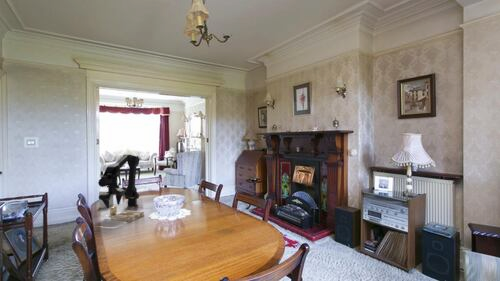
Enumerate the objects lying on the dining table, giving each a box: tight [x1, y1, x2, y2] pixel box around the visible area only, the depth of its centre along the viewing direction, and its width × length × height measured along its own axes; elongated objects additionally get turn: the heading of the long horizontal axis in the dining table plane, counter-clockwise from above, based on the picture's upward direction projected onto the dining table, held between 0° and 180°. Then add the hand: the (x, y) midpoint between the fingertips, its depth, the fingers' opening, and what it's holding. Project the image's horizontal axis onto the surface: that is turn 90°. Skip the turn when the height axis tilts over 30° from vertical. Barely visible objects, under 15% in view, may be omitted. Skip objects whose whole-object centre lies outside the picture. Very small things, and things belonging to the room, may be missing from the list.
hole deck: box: [110, 210, 145, 223], centre depth 166 cm, size 14×14×3 cm
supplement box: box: [98, 189, 114, 209], centre depth 194 cm, size 7×7×13 cm
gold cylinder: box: [109, 205, 118, 215], centre depth 171 cm, size 4×4×5 cm
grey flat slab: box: [104, 211, 122, 217], centre depth 171 cm, size 9×7×1 cm
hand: (113, 206), depth 171 cm, fingers open, 9 cm apart
